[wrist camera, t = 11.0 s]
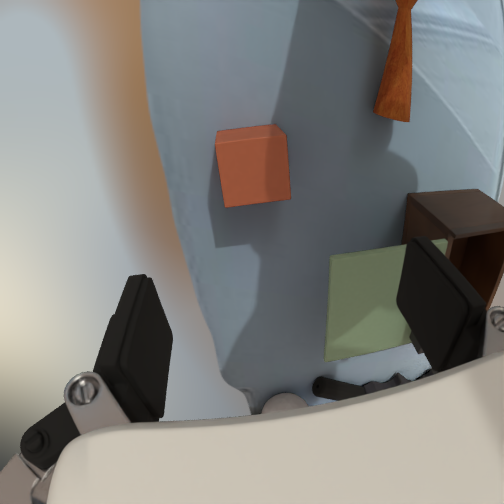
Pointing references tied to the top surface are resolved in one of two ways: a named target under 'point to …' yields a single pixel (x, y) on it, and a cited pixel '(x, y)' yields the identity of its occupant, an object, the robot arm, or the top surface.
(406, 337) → the sliding lid
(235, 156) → the terracotta block
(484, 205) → the walnut box
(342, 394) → the revolver
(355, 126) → the top surface
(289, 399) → the beige rounded piece
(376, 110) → the kendama
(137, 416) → the robot arm
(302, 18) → the top surface
